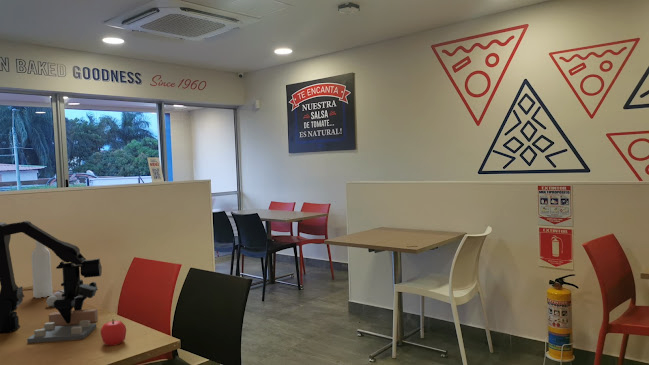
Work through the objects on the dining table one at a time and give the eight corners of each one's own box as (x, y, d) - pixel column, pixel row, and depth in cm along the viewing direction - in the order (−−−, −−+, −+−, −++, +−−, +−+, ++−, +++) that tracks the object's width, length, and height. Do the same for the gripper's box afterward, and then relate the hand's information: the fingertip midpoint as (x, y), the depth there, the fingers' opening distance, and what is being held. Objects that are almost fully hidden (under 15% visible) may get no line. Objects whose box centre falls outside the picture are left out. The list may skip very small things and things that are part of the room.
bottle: (53, 296, 220) (49, 232, 219) (33, 299, 215) (29, 234, 214) (52, 292, 226) (49, 231, 225) (33, 295, 222) (29, 232, 221)
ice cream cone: (78, 297, 215) (50, 312, 201) (69, 289, 216) (40, 303, 202) (83, 288, 213) (55, 302, 199) (73, 279, 214) (45, 293, 200)
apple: (117, 337, 161) (116, 314, 161) (132, 341, 157) (131, 317, 157) (95, 345, 154) (94, 321, 154) (110, 349, 150) (109, 324, 150)
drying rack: (27, 343, 158) (26, 333, 158) (44, 331, 170) (43, 321, 170) (83, 339, 160) (82, 329, 160) (96, 327, 172) (95, 318, 172)
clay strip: (49, 327, 176) (48, 315, 175) (52, 324, 179) (52, 312, 179) (95, 322, 179) (94, 311, 179) (97, 319, 182) (97, 308, 182)
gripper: (84, 283, 170) (86, 326, 170) (102, 272, 188) (104, 310, 189) (51, 285, 169) (53, 328, 169) (73, 273, 187) (75, 312, 188)
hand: (73, 319), depth 179 cm, fingers open, 9 cm apart
